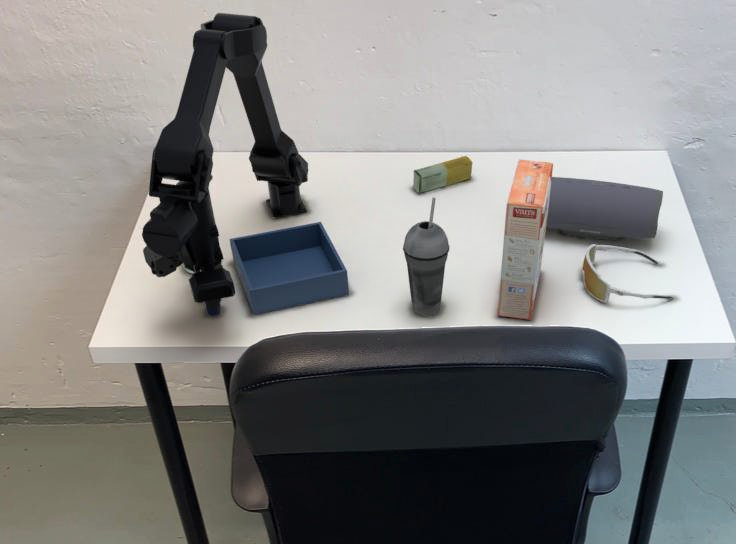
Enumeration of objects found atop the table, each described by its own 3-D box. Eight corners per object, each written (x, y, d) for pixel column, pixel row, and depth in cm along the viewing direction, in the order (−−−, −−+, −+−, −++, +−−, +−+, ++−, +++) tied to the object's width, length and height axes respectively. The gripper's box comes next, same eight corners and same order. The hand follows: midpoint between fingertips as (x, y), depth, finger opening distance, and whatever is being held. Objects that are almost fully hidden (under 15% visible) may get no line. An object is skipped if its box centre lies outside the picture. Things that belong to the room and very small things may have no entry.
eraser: (208, 307, 146) (201, 272, 142) (222, 307, 146) (215, 272, 142) (206, 315, 145) (198, 280, 140) (220, 315, 145) (212, 280, 140)
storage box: (233, 262, 156) (229, 238, 152) (323, 244, 160) (320, 221, 156) (253, 315, 145) (249, 290, 142) (349, 294, 149) (347, 270, 146)
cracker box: (533, 321, 144) (545, 206, 129) (496, 317, 144) (504, 202, 130) (542, 273, 153) (555, 160, 139) (507, 269, 154) (516, 157, 140)
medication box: (418, 194, 172) (418, 177, 169) (412, 187, 174) (412, 169, 171) (472, 178, 176) (473, 161, 173) (465, 171, 178) (466, 154, 175)
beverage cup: (402, 295, 149) (400, 187, 135) (446, 293, 149) (447, 185, 135) (405, 322, 144) (403, 212, 129) (450, 320, 144) (452, 210, 130)
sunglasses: (571, 260, 156) (578, 235, 153) (653, 267, 158) (662, 243, 155) (586, 308, 146) (594, 283, 142) (673, 315, 148) (683, 291, 145)
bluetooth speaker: (654, 227, 164) (664, 177, 157) (652, 254, 158) (662, 204, 150) (532, 212, 168) (536, 163, 161) (524, 239, 161) (529, 189, 154)
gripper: (132, 199, 138) (154, 283, 149) (149, 263, 125) (171, 349, 136) (204, 187, 141) (220, 270, 152) (227, 248, 128) (243, 334, 139)
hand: (212, 304), depth 145 cm, fingers closed on eraser, 2 cm apart
